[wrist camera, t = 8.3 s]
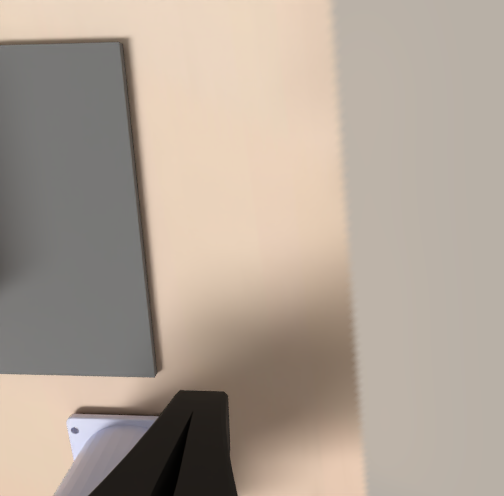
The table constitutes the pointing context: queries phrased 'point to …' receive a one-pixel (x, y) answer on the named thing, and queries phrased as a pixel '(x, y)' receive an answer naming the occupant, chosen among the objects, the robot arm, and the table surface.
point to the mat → (70, 216)
